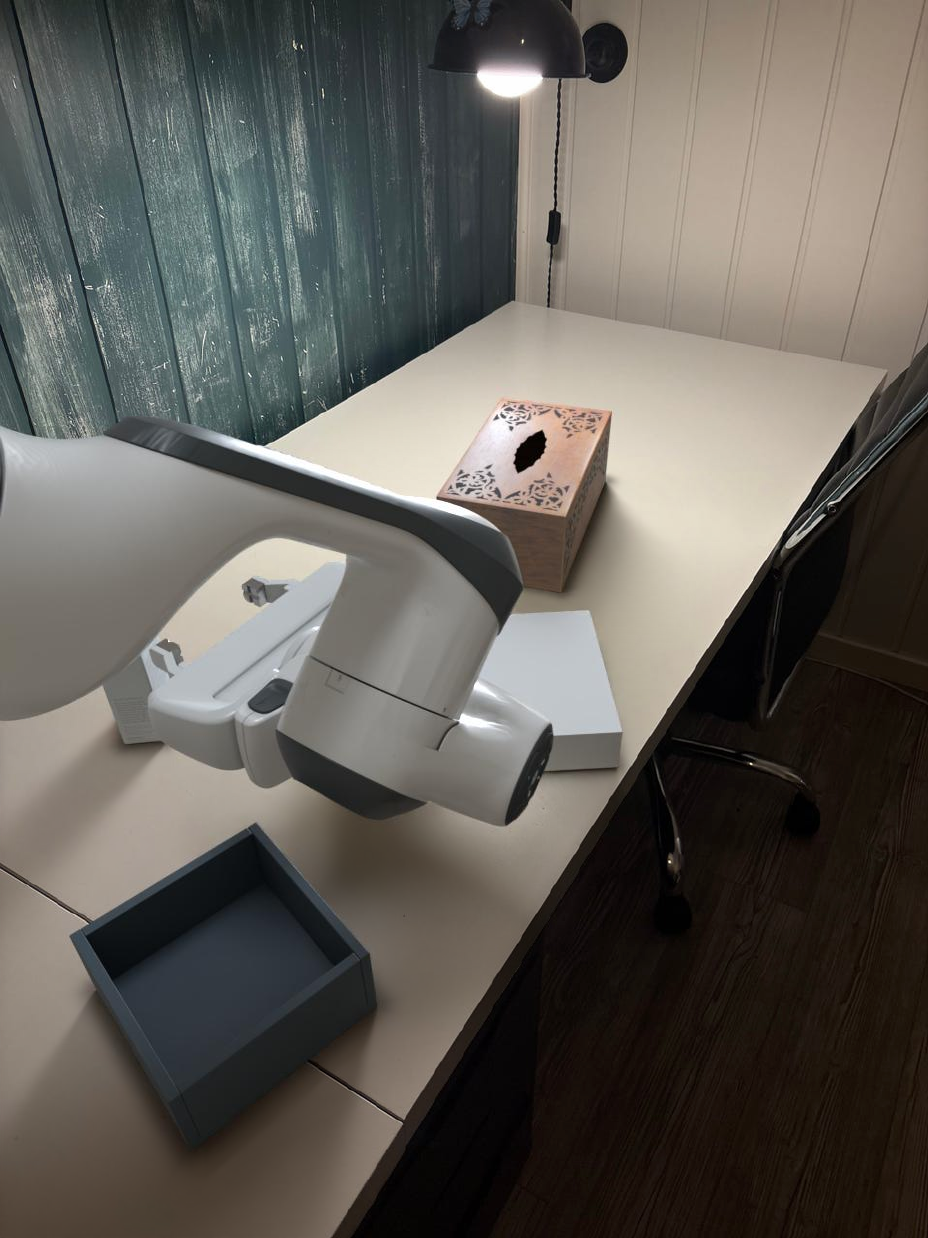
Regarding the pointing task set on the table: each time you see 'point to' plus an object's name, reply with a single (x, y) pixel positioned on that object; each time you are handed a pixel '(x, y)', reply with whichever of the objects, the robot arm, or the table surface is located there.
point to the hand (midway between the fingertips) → (205, 617)
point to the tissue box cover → (535, 481)
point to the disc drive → (560, 684)
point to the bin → (226, 979)
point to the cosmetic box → (135, 697)
